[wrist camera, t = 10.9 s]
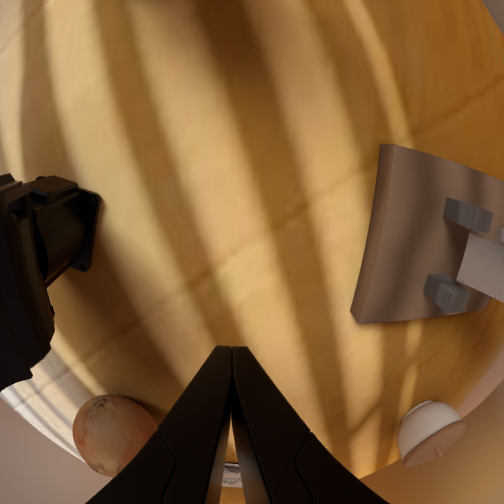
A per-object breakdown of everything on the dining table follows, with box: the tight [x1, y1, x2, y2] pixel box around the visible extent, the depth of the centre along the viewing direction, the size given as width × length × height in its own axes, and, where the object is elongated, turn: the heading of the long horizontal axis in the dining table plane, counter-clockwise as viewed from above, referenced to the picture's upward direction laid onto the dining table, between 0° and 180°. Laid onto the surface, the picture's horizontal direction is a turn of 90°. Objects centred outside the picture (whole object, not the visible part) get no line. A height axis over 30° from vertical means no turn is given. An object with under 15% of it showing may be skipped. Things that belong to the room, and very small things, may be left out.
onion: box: [73, 394, 158, 477], centre depth 22 cm, size 10×10×10 cm
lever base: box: [350, 144, 504, 324], centre depth 18 cm, size 18×14×7 cm
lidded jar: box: [397, 400, 466, 468], centre depth 28 cm, size 11×11×9 cm
